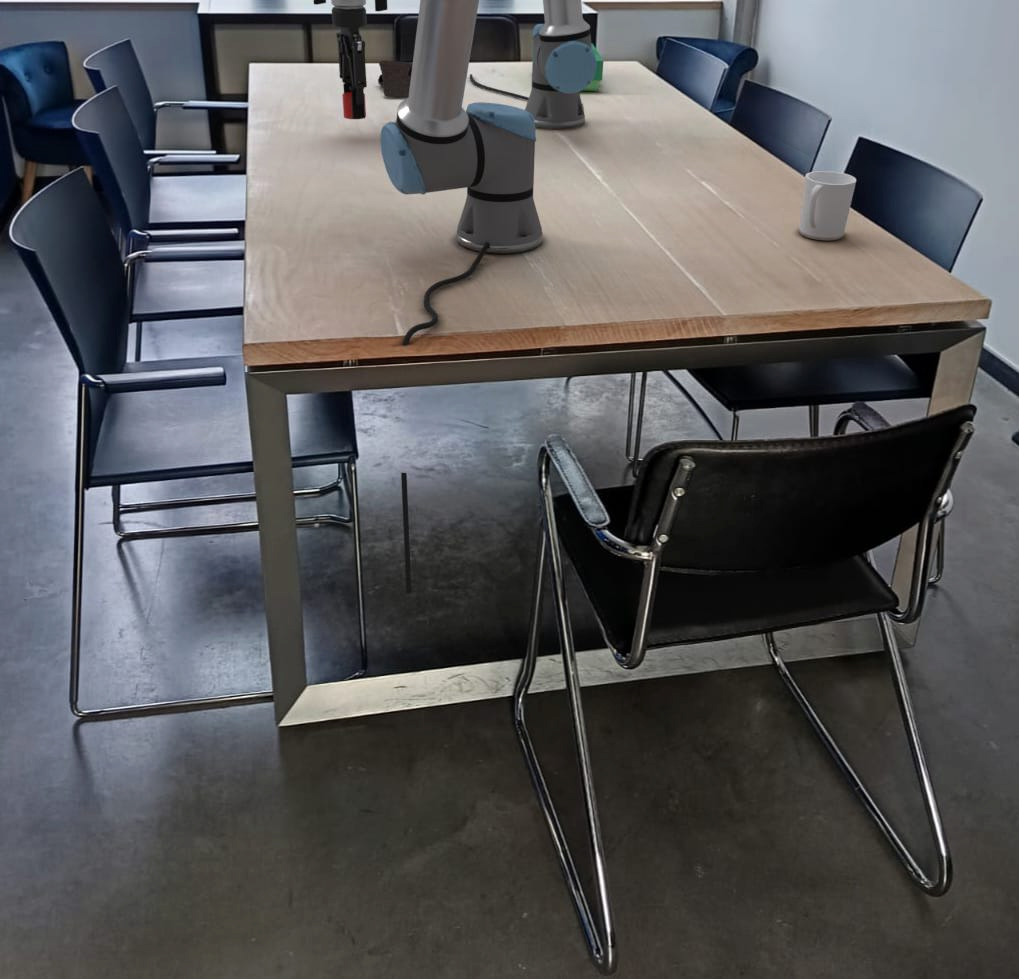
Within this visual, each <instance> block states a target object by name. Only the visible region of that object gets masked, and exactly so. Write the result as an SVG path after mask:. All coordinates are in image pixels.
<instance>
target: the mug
mask: <svg viewBox="0 0 1019 979" xmlns="http://www.w3.org/2000/svg"><path fill="white" fill-rule="evenodd" d="M856 183H857V178H856V177H855V176H853V175H851V174H848V173H844V172H840V171H832V170H816V171H809V172H807V173H806V174H805V177H804V184H803V194H802V203H801V212H800V219H799V228H798V232H799V234H800V235H802V236H803V237H805V238H809V239H812V240H817V241H836V240H840V239H842V238H843V237H844V236H845V230H846V227H847V221H848V217H849V215H850V214H849V213H850V209H851V205H852V201H853V196H854V193H855V189H856Z"/></svg>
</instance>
